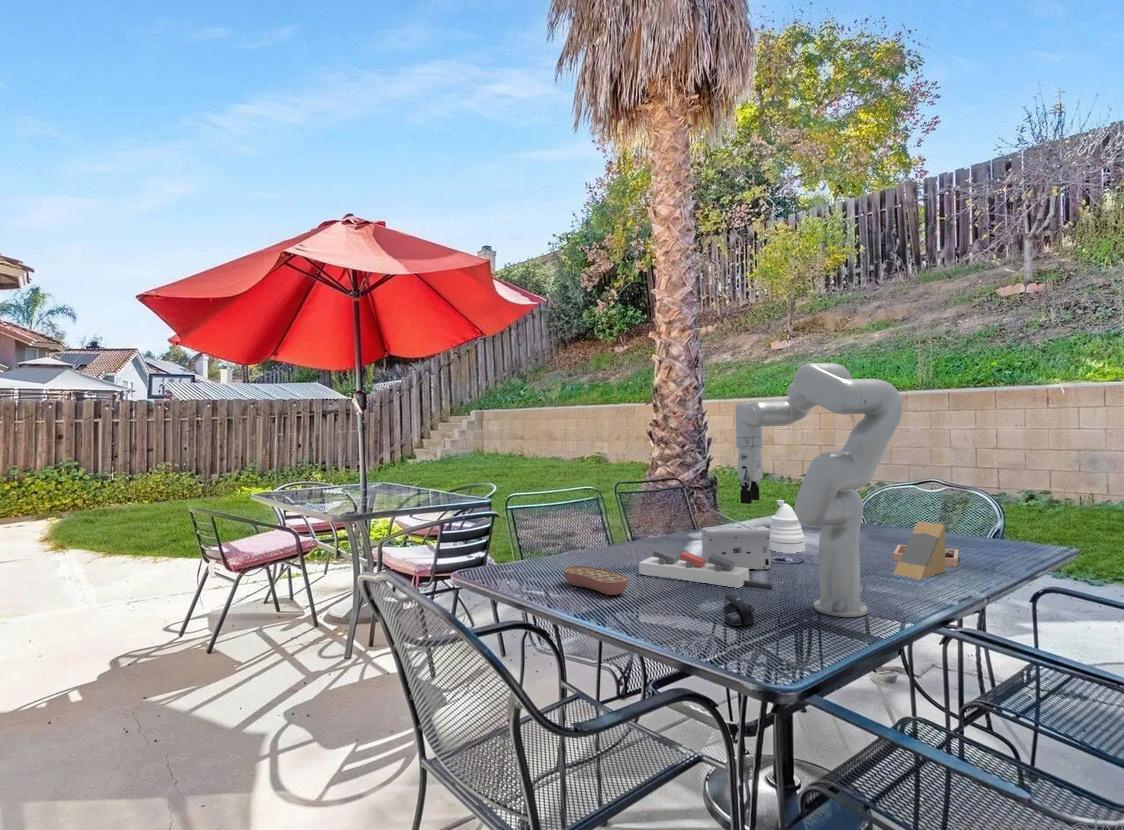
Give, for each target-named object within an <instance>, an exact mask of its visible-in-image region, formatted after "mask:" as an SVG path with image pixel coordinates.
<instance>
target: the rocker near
mask: <svg viewBox="0 0 1124 830" xmlns="http://www.w3.org/2000/svg"><path fill="white" fill-rule="evenodd" d="M708 562H709V563H711V564H714V565H719V566H721V567H722V568H724V569H727V570H729V571H730V570H732V569H733V568H734V567H735V562H732V561H730V560H727V559H725V558H722V557H719V556H717V555H714V554H713V555H712V556H710V557H709V559H708Z"/></svg>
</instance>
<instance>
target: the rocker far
mask: <svg viewBox="0 0 1124 830" xmlns="http://www.w3.org/2000/svg"><path fill="white" fill-rule="evenodd" d="M652 557H657V558H660V559H664V560H665V561H667V562H670V563H672V564H673V563H675V562H677V561H678V560H680V555H677V554H674V553H672V552H669V551H667V550H664V549H662V548H657V549H655V550H653V553H652Z"/></svg>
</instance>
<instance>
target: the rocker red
mask: <svg viewBox="0 0 1124 830" xmlns="http://www.w3.org/2000/svg"><path fill="white" fill-rule="evenodd" d="M679 560H682V561H686V562H692V564H694V565H696V566H699V567H702V566H703V565H705V564H706V560H707V559H704V558H702V557H701V556H698V555H696V554H694V553H691V552H689V551H683V552H682V553H680V555H679Z"/></svg>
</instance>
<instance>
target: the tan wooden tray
mask: <svg viewBox="0 0 1124 830" xmlns="http://www.w3.org/2000/svg"><path fill="white" fill-rule="evenodd" d="M906 546H907V544H897V546H896V548H895V550H894V552H893V553H892V554H893V561H894V562H899V561H900V559H901V557H902V555H903V553H904V550H905V548H906ZM945 549H946V550H948V551H949V552H952V553H954V558H946V557H945V567H952V566H953V568H958V562H959V549H954V548H953V549H951V548H945Z"/></svg>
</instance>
